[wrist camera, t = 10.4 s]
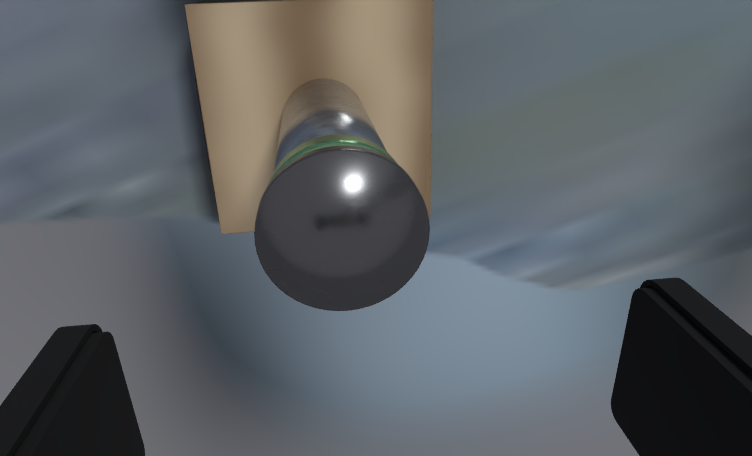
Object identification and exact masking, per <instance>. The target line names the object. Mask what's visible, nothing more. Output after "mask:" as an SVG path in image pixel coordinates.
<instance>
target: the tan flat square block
mask: <svg viewBox="0 0 752 456" xmlns="http://www.w3.org/2000/svg"><path fill="white" fill-rule="evenodd" d="M185 10H186V17H187V23H188V29H189V35H190V41H191V48H192V54H193V60H194V66H195V72H196V78H195V80H196V87H197V93H198V99H199V105H200V111H201V117H202V124H203V130H204V136H205V142H206V148H207V154H208V160H209V167H210V171H212V178H213V184H214V190H215V196H216V202H217V209H218V215H219V221H220V227H221V233H222V234H230V233H243V232H254V231H255V221H256V216H257V211H258V207H259V203H260V200H261V198H262V195H263V193H264V191H265V190H266V188H267V186H268V183H269V180H270V178H271V175H272V174H273V172H274V168H275V162H276V155H277V148H278V142H279V135H280V128H281V121H282V115H283V110H284V106H285V104H286V101H287V99H288V98H289V96H290V95H291V94H292V92H293V91H294V90H295V89H296V88H298V87H299V86H300V85H302V84H304V83H305V82H308V81H310V80H314V79H321V78H324V79H333V80H336V81H339V82H341V83H344V84H345V85H347V86H348V87H350V88H351V89H352V90H353V91H354V92H355V93H356V94H357V96H358V97H359V99H360V100H361V102H362V104H363V106H364V108H365V110H366V112H367V114H368V116H369V118H370V120H371V122H372V124H373V126H374V127H375V129H376V131H377V133H378V135H379V137H380V139H381V141H382V143H383V145H384V147H385V149H386V151H387V152H388V153H389V154H390V155H391V156H392V157H393V158H394V160H395V161H396V162H397V164H398V165H399V166H401V167H402V168H403V169H404V170H405V171H406V173H407V174H408V175H409V176H410V177H411V179H412V180H413V181H414V183H415V185H416V186H417V188H418V190H419V192H420V194H421V195H422V197H423V199H424V202H425V205H426V208H427V211H428V216H429V218H430V193H431V117H432V40H433V0H263V1H234V2H205V3H191V4H185Z"/></svg>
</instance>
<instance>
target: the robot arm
mask: <svg viewBox="0 0 752 456" xmlns="http://www.w3.org/2000/svg"><path fill="white" fill-rule="evenodd" d="M611 409H612V413H613V416H614V418H615V420H616V422H617V423H618V425H619V426H620V428H621V429H622V430H623V432H624V433H625V435H626V436H627V438H628V439H629V441H630V442H631V444H632V445H633V447H634V448H635V449H636V451H637V453H638V454H639V455H640V456H752V336H751V335H750V334H748V333H747V332H746V331H745V330H744V329H742V328H741V327H740V326H738V325H737V324H736V323H735V322H734V321H733V320H731V319H730V318H729V317H728V316H726V315H725V314H724V313H723V312H722V311H720V310H719V309H718V308H717V307H715V306H714V305H713V304H712V303H711V302H709V301H708V300H707V299H706V298H704V297H703V296H702V295H701V294H700V293H698V292H697V291H696V290H695V289H693V288H692V287H691V286H690V285H688V284H687V283H686V282H685V281H684V280H682V279H680V278H666V279H653V280H646V281H644V282H643V283H642V285H641V287H640V288H638V289H636V290H635V291H634V292H633V295H632V299H631V304H630V309H629V314H628V319H627V324H626V329H625V334H624V339H623V344H622V348H621V354H620V358H619V363H618V368H617V373H616V379H615V383H614V388H613V393H612V398H611ZM0 456H145V449H144V444H143V440H142V437H141V434H140V430H139V427H138V423H137V420H136V416H135V412H134V409H133V405H132V402H131V398H130V395H129V391H128V388H127V384H126V381H125V377H124V373H123V370H122V366H121V363H120V360H119V356H118V352H117V349H116V345H115V342H114V339H113V336H112V334H111V333H110V332H102V330H101V328H100V327H99V326H98V325H96V324H91V325H79V326H67V327H60V328H58V329H57V330H56V331H55V332H54V334H53V335H52V336H51V338H50V339H49V340H48V342H47V343H46V345H45V346H44V347H43V348H42V350H41V351H40V352H39V354H38V355H37V357H36V358H35V359H34V361H33V362H32V363H31V365H30V366H29V368H28V369H27V370H26V372H25V373H24V374H23V376H22V377H21V378H20V380H19V381H18V383H17V384H16V385H15V386H14V388H13V389H12V391H11V392H10V394H9V395H8V396H7V397H6V399H5V400H4V401H3V403H2V404H1V406H0Z"/></svg>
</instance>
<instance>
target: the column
mask: <svg viewBox="0 0 752 456" xmlns="http://www.w3.org/2000/svg"><path fill="white" fill-rule="evenodd" d="M429 232H430V226H429V216H428V211H427V208H426V205H425V202H424V199H423V197H422V195H421V194H420V192H419V190H418V188H417V186H416V185H415V183H414V181H413V180H412V179H411V177H410V176H409V175H408V174H407V173H406V171H405V170H404V169H403V168H402V167H401V166H399V165H398V164H397V162H396V161H395V160H394V158H393V157H392V156H391V155H390V154H389V153H388V152H387V151H386V149H385V147H384V145H383V143H382V141H381V139H380V137H379V135H378V133H377V131H376V129H375V127H374V126H373V124H372V122H371V120H370V118H369V116H368V114H367V112H366V110H365V108H364V106H363V104H362V102H361V100H360V99H359V97H358V96H357V94H356V93H355V92H354V91H353V90H352V89H351V88H350V87H348V86H347V85H345V84H344V83H341V82H339V81H336V80H333V79H324V78H321V79H314V80H310V81H308V82H305V83H304V84H302V85H300V86H299V87H298V88H296V89H295V90H294V91H293V92H292V94H291V95H290V96H289V98H288V99H287V101H286V104H285V106H284V110H283V115H282V121H281V128H280V135H279V142H278V148H277V155H276V162H275V168H274V172H273V174H272V175H271V178H270V180H269V183H268V186H267V188H266V190H265V191H264V193H263V195H262V198H261V200H260V203H259V207H258V211H257V216H256V221H255V231H254V234H255V246H256V251H257V255H258V257H259V260H260V263H261V265H262V267H263V269H264V270H265V272H266V274H267V275H268V276H269V278H270V279H271V281H272V282H273V283H274V284H275V285H276V286H277V287H278V288H279V289H280V290H282V291H283V292H284V293H285V294H287V295H288V296H290V297H291V298H293V299H295V300H296V301H298V302H301V303H303V304H305V305H308V306H311V307H314V308H319V309H324V310H332V311H348V310H355V309H360V308H364V307H368V306H371V305H374V304H376V303H379V302H380V301H383V300H384V299H386V298H388V297H390V296H391V295H393V294H394V293H396V292H397V291H398V290H400V288H402V287H403V286H404V285H405V284H406V283H407V282H408V281H409V280H410V278H412V276H413V275H414V274H415V272H416V271H417V269H418V268H419V266H420V264H421V262H422V260H423V258H424V255H425V253H426V250H427V246H428V241H429Z"/></svg>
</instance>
